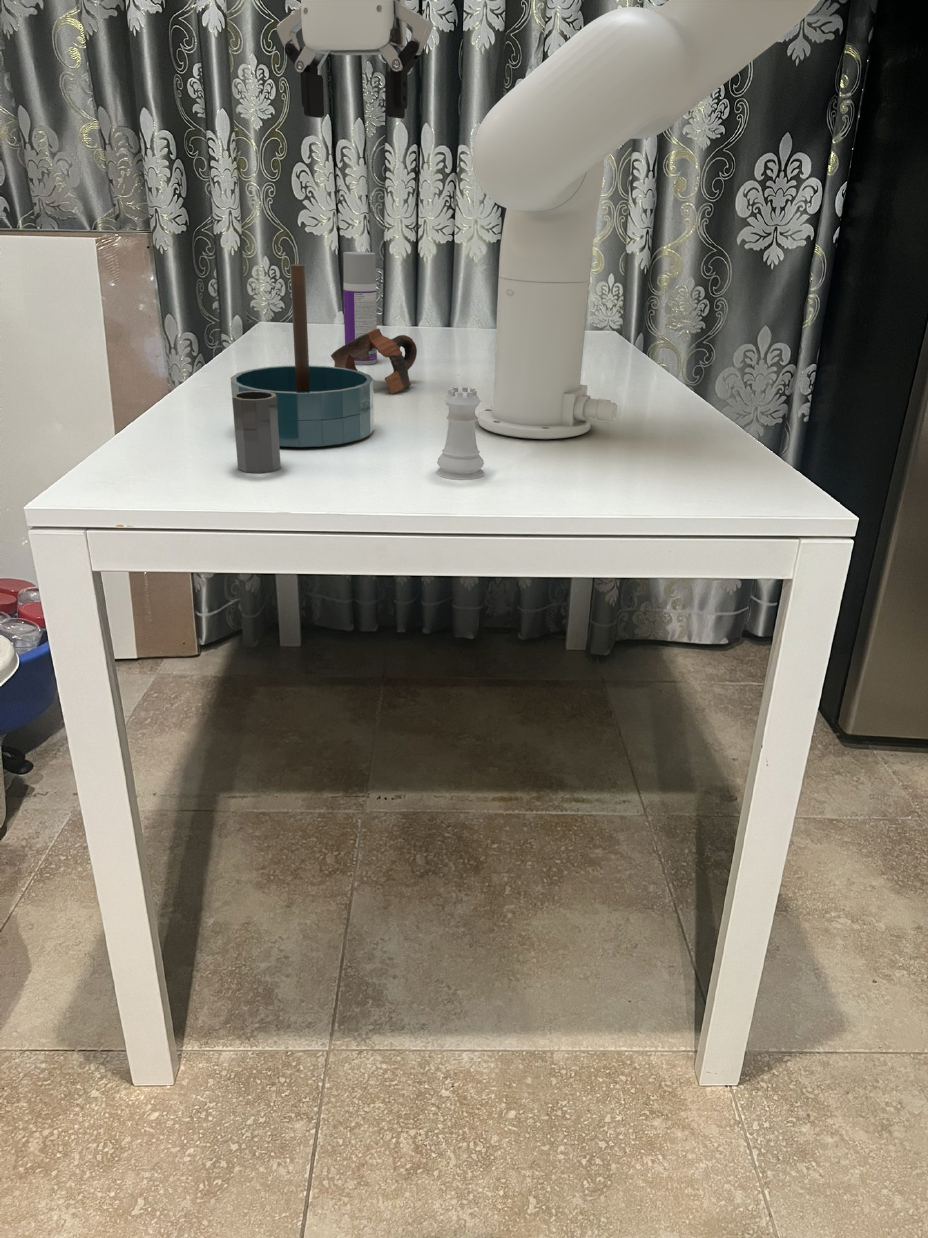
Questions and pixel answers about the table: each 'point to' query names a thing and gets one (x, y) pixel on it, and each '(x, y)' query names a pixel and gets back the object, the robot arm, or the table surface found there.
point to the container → (360, 298)
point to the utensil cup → (256, 431)
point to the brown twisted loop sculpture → (387, 348)
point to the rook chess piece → (461, 437)
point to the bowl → (315, 403)
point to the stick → (300, 327)
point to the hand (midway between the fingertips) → (354, 116)
